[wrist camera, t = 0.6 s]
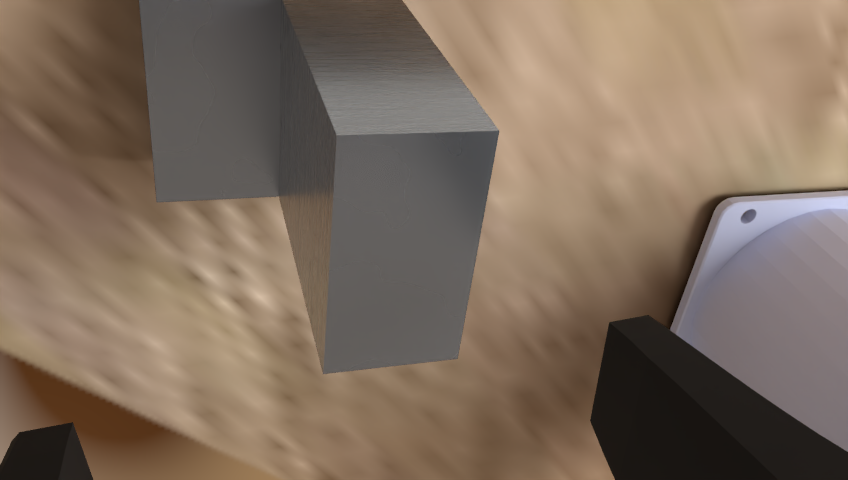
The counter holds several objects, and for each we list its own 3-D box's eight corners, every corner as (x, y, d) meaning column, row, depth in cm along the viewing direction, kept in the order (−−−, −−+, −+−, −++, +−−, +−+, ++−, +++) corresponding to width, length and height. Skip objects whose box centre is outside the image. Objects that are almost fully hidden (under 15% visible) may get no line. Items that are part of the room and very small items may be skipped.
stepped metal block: (380, -29, 18) (499, 130, 12) (366, 153, 20) (457, 359, 14) (138, -36, 16) (136, 140, 10) (155, 161, 19) (161, 392, 13)
